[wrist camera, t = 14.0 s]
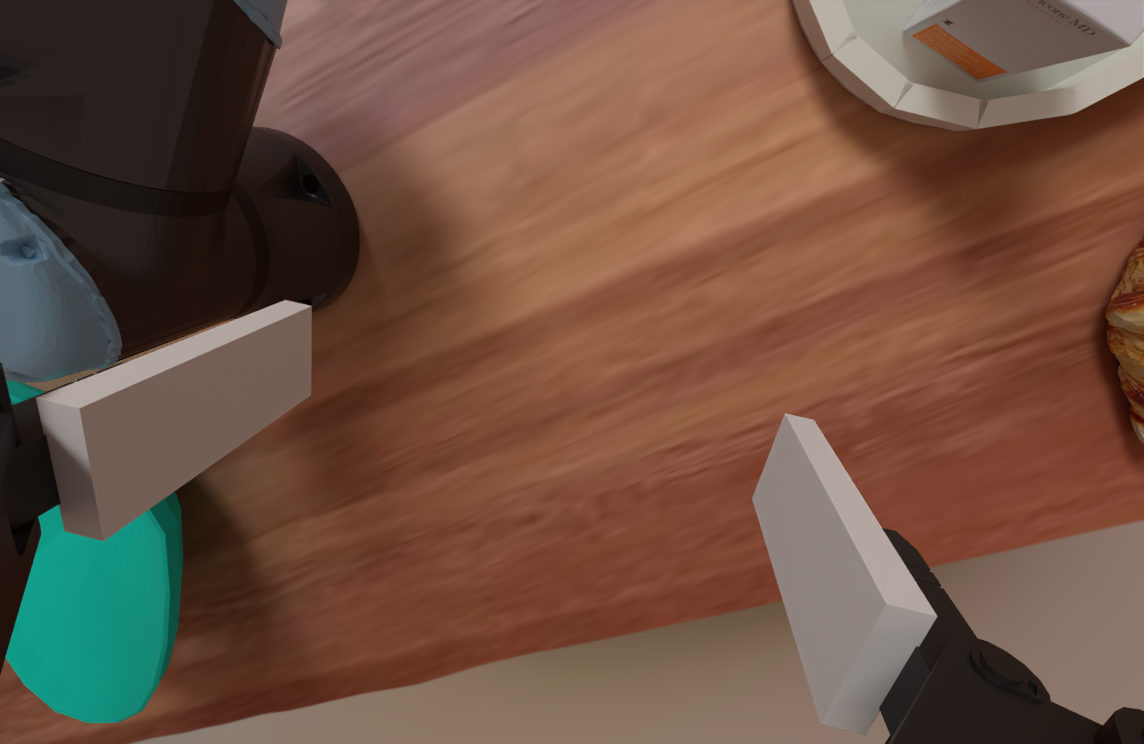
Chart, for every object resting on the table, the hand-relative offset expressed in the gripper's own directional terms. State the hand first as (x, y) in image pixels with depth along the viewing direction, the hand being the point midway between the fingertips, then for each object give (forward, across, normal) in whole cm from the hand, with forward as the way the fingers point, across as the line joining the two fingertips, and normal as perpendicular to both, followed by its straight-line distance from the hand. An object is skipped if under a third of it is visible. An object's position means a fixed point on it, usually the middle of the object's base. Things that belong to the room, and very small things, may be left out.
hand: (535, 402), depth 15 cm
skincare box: (+28, +18, +17) cm, 38 cm away
